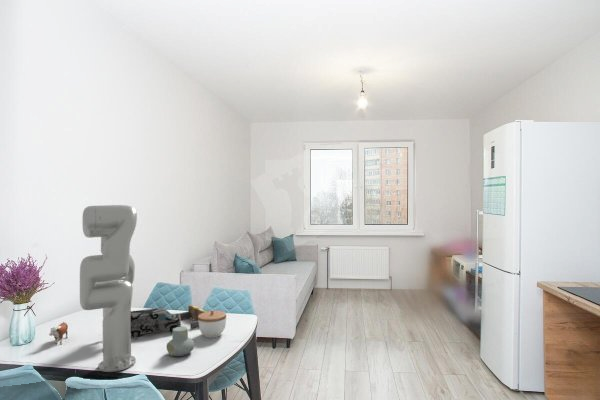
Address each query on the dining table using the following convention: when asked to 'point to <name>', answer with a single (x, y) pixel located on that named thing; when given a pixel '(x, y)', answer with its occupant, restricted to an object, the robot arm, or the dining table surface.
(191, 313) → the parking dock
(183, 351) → the air freshener
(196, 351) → the dining table surface
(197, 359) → the dining table surface
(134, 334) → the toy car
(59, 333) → the bull figurine
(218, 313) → the lidded bowl
